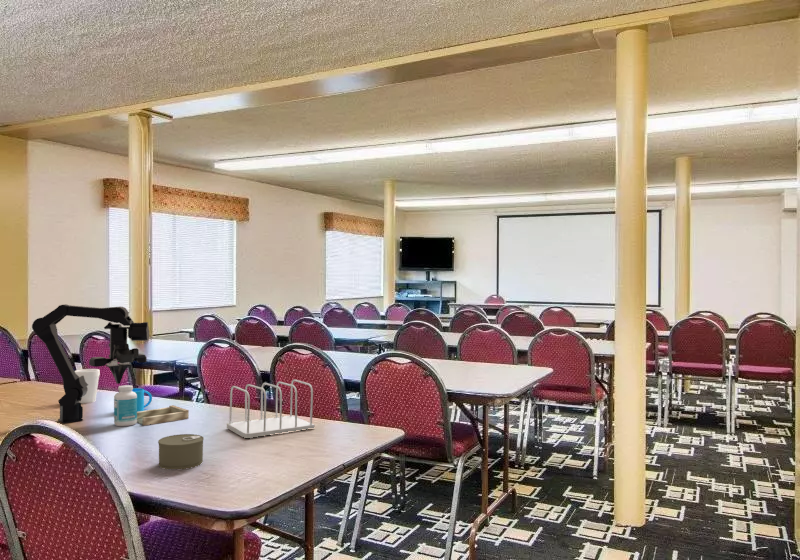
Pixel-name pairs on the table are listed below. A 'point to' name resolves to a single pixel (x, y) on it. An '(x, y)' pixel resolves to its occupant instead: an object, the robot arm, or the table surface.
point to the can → (180, 451)
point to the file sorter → (269, 424)
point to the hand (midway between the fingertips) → (118, 383)
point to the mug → (141, 398)
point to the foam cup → (89, 383)
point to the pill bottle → (125, 406)
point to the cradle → (162, 415)
